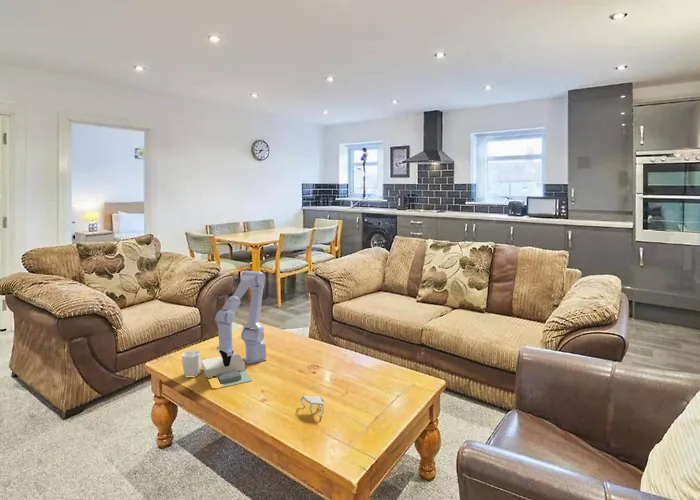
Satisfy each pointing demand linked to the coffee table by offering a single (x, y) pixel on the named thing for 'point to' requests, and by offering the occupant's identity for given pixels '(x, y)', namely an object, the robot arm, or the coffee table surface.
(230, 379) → the gray rectangular block
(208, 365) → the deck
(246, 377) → the mat
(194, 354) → the white cup
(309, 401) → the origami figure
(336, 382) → the coffee table surface
